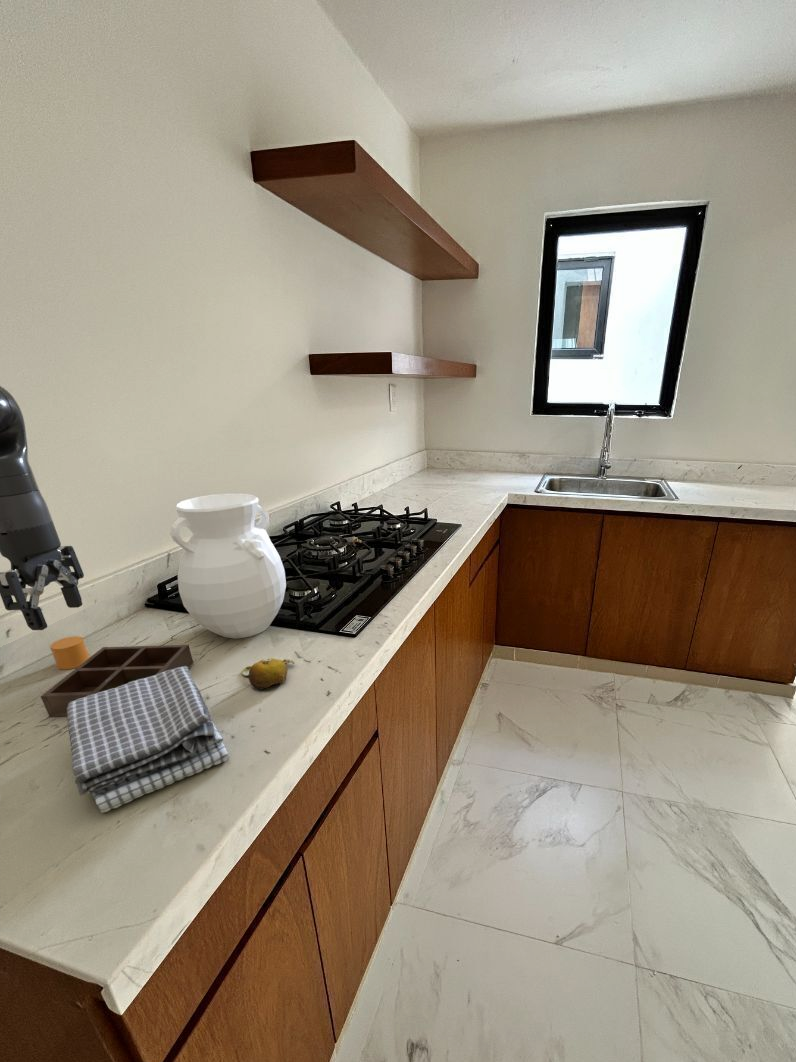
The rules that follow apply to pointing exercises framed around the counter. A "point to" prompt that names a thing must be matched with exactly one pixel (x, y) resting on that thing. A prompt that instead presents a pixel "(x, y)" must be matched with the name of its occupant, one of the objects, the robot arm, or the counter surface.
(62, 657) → the orange cylinder
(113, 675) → the grid
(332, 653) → the counter surface
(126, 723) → the towel
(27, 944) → the counter surface
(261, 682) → the yellow rounded lumpy piece
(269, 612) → the white vase
